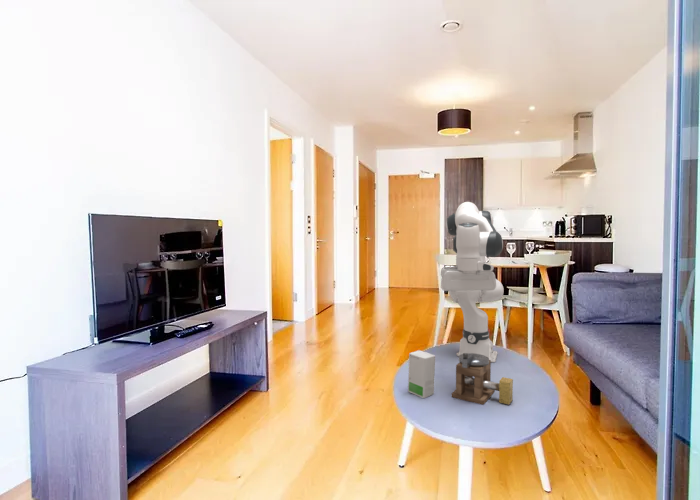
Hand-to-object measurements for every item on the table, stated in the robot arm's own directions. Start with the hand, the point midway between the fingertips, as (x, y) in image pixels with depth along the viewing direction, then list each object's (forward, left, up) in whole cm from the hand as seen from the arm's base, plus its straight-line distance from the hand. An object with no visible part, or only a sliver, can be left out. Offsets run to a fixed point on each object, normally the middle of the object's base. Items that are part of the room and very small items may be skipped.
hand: (468, 302), depth 152 cm
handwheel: (0, +1, -23) cm, 23 cm away
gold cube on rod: (-2, +5, -36) cm, 36 cm away
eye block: (-2, +1, -36) cm, 36 cm away
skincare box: (+8, -16, -36) cm, 40 cm away
